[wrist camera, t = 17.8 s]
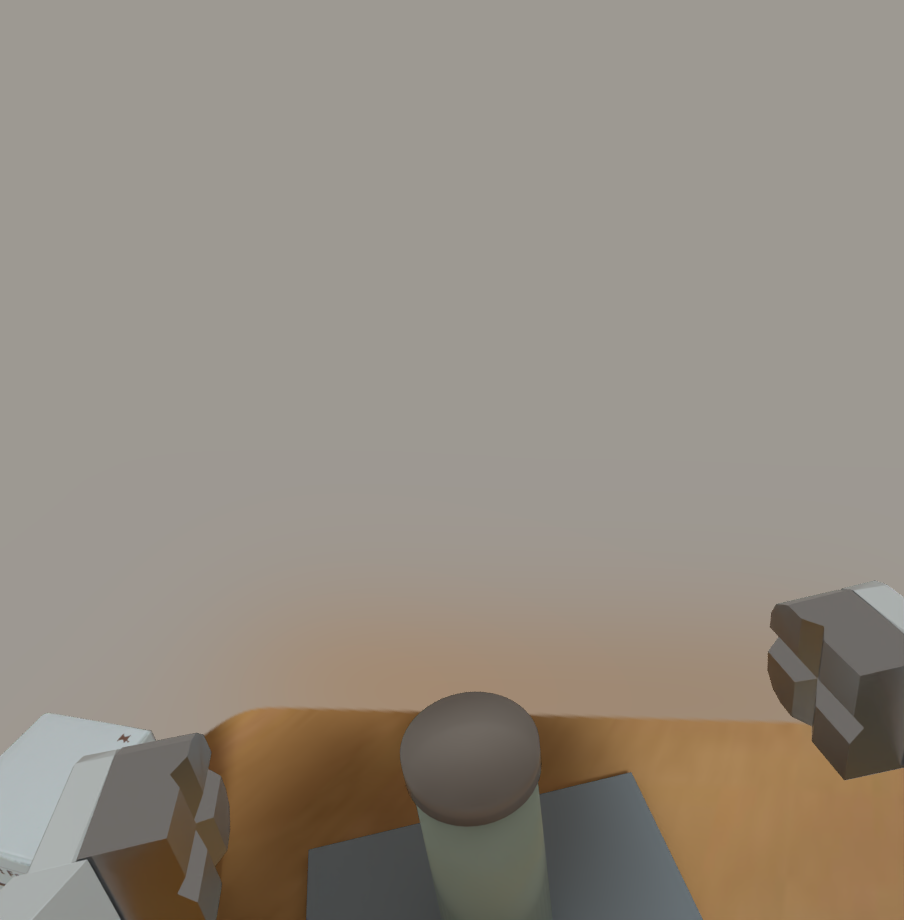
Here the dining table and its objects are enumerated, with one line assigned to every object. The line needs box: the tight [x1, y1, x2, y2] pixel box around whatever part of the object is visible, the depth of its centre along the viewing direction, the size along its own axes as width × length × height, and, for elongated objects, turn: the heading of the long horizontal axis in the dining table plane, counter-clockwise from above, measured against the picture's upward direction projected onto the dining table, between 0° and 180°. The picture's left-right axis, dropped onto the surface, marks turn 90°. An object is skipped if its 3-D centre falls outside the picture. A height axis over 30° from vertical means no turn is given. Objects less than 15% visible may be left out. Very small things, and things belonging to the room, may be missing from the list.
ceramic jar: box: [400, 692, 553, 920], centre depth 32 cm, size 6×6×13 cm
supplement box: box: [0, 713, 156, 890], centre depth 35 cm, size 7×7×13 cm
